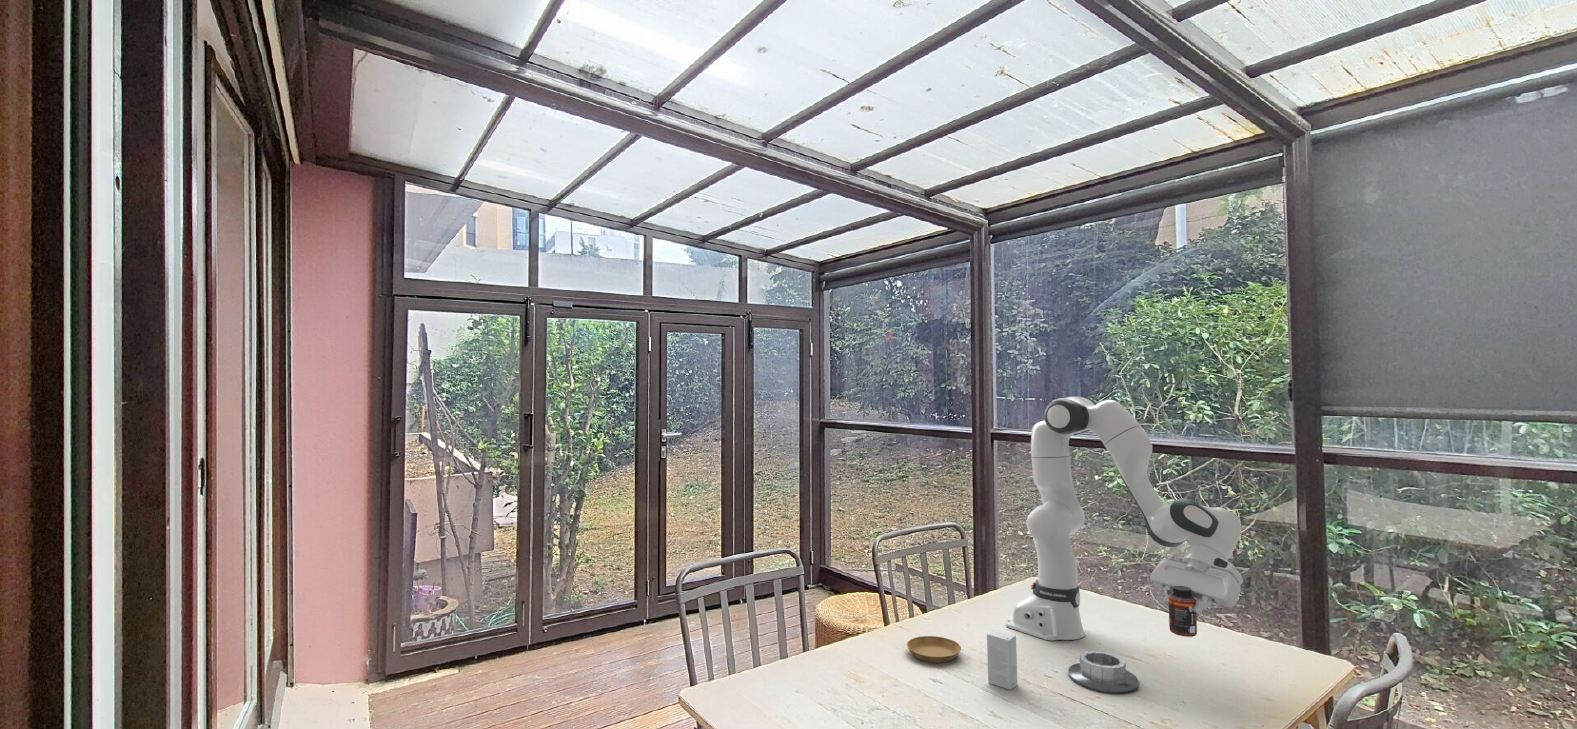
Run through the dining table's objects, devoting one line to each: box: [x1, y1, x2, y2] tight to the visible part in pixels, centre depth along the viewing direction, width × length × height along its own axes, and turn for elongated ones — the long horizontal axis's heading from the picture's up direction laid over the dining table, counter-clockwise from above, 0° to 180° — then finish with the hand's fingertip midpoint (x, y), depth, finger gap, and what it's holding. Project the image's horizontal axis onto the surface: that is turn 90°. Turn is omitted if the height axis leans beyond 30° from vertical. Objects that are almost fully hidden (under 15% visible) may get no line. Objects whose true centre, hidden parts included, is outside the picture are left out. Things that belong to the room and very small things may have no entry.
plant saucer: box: [906, 635, 962, 664], centre depth 180 cm, size 15×15×3 cm
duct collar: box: [1067, 650, 1140, 695], centre depth 164 cm, size 16×16×5 cm
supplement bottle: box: [1168, 586, 1198, 638], centre depth 163 cm, size 6×6×11 cm
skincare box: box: [986, 630, 1018, 690], centre depth 162 cm, size 6×4×12 cm
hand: (1180, 608), depth 163 cm, fingers closed on supplement bottle, 6 cm apart
